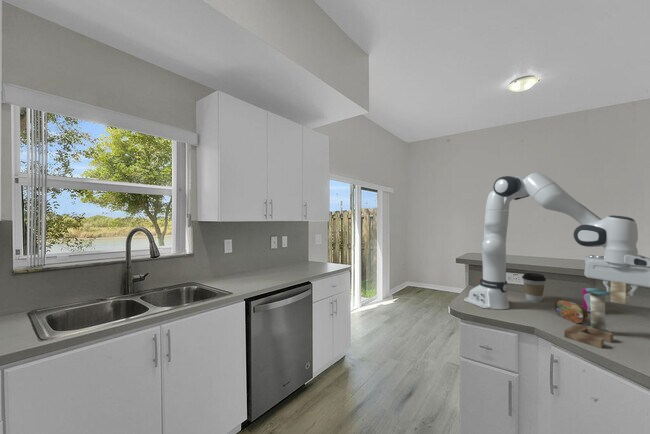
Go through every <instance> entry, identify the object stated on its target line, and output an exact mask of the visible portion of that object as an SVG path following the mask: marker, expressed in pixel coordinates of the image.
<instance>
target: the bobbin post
mask: <svg viewBox="0 0 650 434" xmlns="http://www.w3.org/2000/svg"><path fill="white" fill-rule="evenodd" d="M585 288H586V292H588V293H590V305H591V313H590V326H588V325H587V326H588V327H591V328H595V329H599V330H603V331H607V332H610V330H608V329H606V296H610V292H607V289H603V288H596V287H585Z"/></svg>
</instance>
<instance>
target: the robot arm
mask: <svg viewBox="0 0 650 434" xmlns="http://www.w3.org/2000/svg"><path fill="white" fill-rule="evenodd" d="M528 197H531V199H532V200H533V201H535V203H536V204H538V205H539V206H541V207H542V208H544V209H545V210H549V211H554V212H557V213H558V212H559V213H562V214H565V215H567V216H569V217H571V218H573V219H574V220H575V221H576V222H577V223H578V224H580V225H579V226H577V227H576V228H575V229H574V231H573V239H574V241H576V243H577V244H578V245H579V246H582V247H586V248H600V247H603V255H593V254H590V255H587V256H585V258H584V264H585V267H584V273H583V275H584V276H585V277H586V278H587V279H595V280H601V281H602V284H603V285H604V287H605V288H606V290H607V292H609V294H611V285H610V284H611V281H616V282H622V283H626V284H629V285H630V287H631V289H629V290H628V291H627V296H629V297H634V296H635V295H634V293H635V291H636V290H637V289H638V288H639V286H640V287H644V288H645V287H646V288H650V257H647V256H644V255H640V254H639V250H638V247H637V243H638V240H639V235H638V234H639V233H638V230H639V229H638V225H637V221H636V219H634V218H632V217H629V216H624V215H623V216H622V215H607V216H605V217H603V218H601V217H599V216H598V215H597V214H595V213H594V212H592V210H590V209H588V208H587V207H586V206H584V205H583V204H582V203H580V202H579V201H578V200H576V198H574V197H573V196H572V195H570V194H569V193H568V192H566V190H564V189H563V188H562V187H561V186H560V185H559V184H557V182H555V181H554V180H553V179H551V178H550V177H548V176H547V175H545V174H543V173H541V172H532V173H531V174H528V175H527V176H525V177H522V176H517V175H516V176H509V175H505V176H500V177H498V178H497V179H495V181H494V183H493V190H492V191H490V192H489V193H488V196H487V199H486V202H485V203H486V204H485V211H484V225H483V227H484V228H483V240H482V242H481V257H482V258H481V259H482V278H480V279H478V280H477V281H478V283H479V285H476V286H475V287H473V288H471V289H470V290H469V293H468V296H467V297H464V301H465V302H467V303H470V304H472V305H475V306H478V307H480V308H484V309H491V310H492V309H493V310H509V309H510V308H511V306H510V303H509V300H508V293H507V291H508V281H507V245H506V244H507V234H508V225H509V213H510V204H511V201H513V200H514V201H517V200H521V199H524V198H528ZM609 283H610V284H609Z"/></svg>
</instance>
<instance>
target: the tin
mask: <svg viewBox="0 0 650 434" xmlns="http://www.w3.org/2000/svg"><path fill="white" fill-rule="evenodd" d="M554 309H555V310H554V311H555V312H556V314H557V315H558V316H559V317H560V318H563V319H564V320H568V321H570V322H572V323H575V324H584V323H586V322H587V320H588V318H589V317H588V316H589V314H588V312H587V311H586V309H585V308H584V307H583V305H581V304H578V303H575V302H572V301H569V300H563V299H559V300H557V301H555V304H554Z"/></svg>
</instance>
